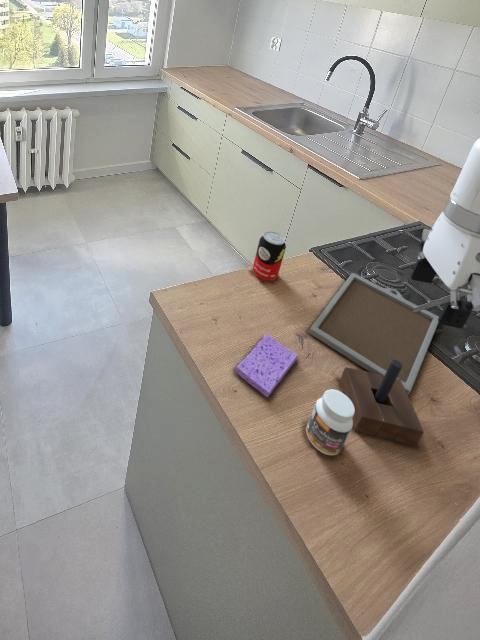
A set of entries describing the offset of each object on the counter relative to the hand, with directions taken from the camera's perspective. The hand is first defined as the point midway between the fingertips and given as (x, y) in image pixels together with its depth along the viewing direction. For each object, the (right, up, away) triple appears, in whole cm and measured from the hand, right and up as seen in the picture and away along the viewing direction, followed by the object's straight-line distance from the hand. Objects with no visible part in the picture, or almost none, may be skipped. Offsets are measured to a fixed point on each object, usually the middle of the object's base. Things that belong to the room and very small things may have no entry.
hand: (434, 301), depth 69 cm
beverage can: (-12, -10, +41) cm, 44 cm away
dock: (-4, -25, +9) cm, 26 cm away
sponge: (-21, -21, +17) cm, 34 cm away
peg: (-4, -25, +9) cm, 26 cm away
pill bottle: (-16, -26, +4) cm, 31 cm away
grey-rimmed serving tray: (+9, -17, +28) cm, 34 cm away
